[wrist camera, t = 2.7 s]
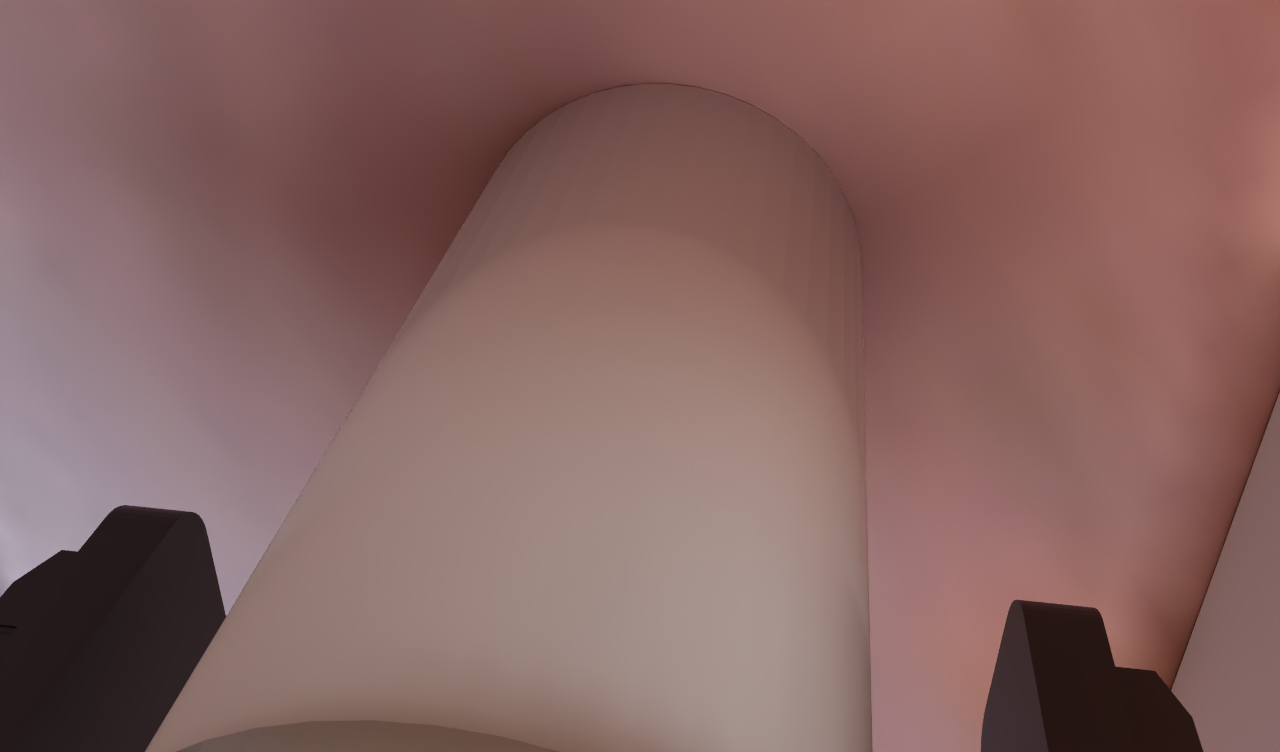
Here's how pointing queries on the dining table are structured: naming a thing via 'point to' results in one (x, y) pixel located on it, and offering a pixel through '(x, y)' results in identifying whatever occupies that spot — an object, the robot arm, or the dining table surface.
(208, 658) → the jar
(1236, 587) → the lane
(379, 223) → the dining table surface
